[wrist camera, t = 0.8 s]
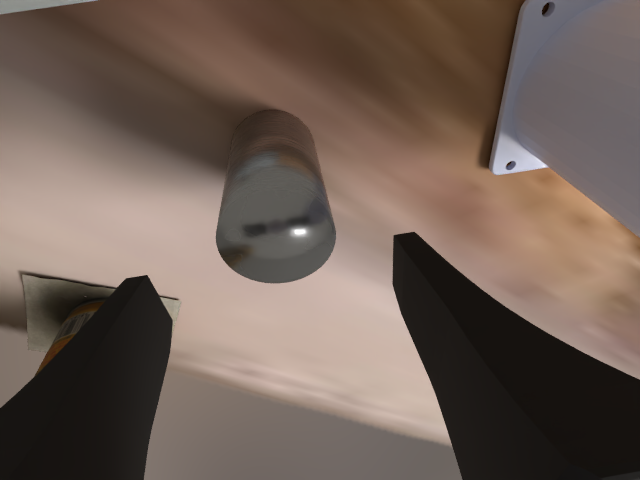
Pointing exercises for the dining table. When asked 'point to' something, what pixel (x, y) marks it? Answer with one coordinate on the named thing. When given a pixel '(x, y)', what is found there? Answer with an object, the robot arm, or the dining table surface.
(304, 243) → the peg
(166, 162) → the dining table surface
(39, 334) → the condiment
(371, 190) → the dining table surface
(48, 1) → the socket
